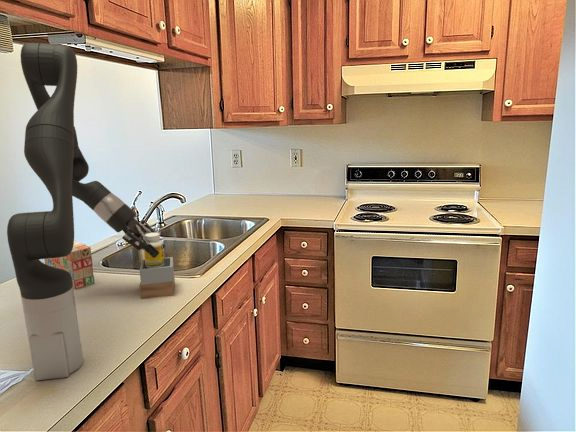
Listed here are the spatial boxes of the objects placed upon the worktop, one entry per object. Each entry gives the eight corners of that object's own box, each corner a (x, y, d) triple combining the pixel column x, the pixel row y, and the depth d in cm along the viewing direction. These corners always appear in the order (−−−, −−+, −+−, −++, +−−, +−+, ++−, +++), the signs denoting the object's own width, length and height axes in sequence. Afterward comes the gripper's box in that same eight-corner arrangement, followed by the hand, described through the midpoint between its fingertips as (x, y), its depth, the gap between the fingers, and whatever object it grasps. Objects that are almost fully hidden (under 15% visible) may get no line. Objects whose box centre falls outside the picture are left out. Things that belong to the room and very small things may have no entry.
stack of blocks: (46, 274, 144) (40, 239, 142) (65, 269, 149) (60, 234, 146) (75, 290, 131) (69, 251, 128) (95, 283, 136) (90, 246, 133)
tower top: (173, 281, 125) (172, 266, 124) (141, 284, 123) (139, 269, 122) (173, 270, 133) (172, 256, 132) (143, 273, 131) (141, 259, 130)
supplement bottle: (144, 264, 128) (141, 233, 126) (162, 261, 131) (160, 230, 128) (146, 270, 124) (143, 237, 121) (165, 267, 126) (163, 235, 124)
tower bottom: (173, 296, 126) (172, 281, 125) (141, 299, 124) (139, 284, 123) (175, 284, 134) (173, 271, 133) (144, 287, 132) (143, 273, 131)
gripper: (113, 208, 116) (161, 251, 119) (132, 198, 130) (175, 236, 133) (96, 228, 117) (144, 269, 120) (116, 215, 131) (159, 252, 134)
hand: (160, 251), depth 126 cm, fingers closed on supplement bottle, 5 cm apart
